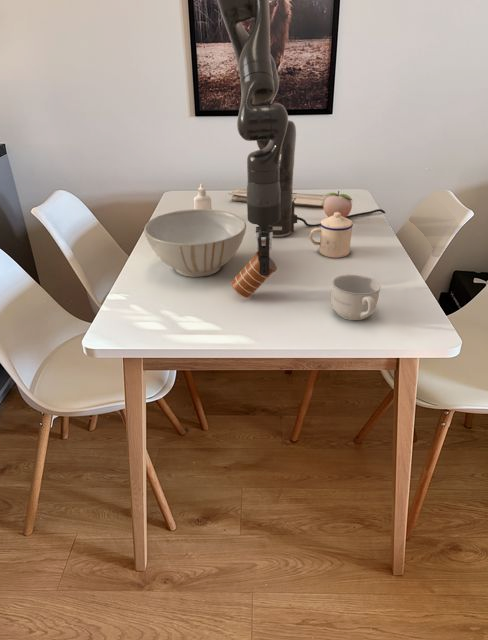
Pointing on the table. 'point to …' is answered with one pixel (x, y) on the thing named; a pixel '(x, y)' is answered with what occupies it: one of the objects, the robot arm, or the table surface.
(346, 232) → the teacup with lid
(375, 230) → the table surface
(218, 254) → the decorative bowl
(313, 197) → the newspaper
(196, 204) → the eye dropper bottle
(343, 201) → the decorative fruit
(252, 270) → the brown striped cylinder
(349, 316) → the teacup
